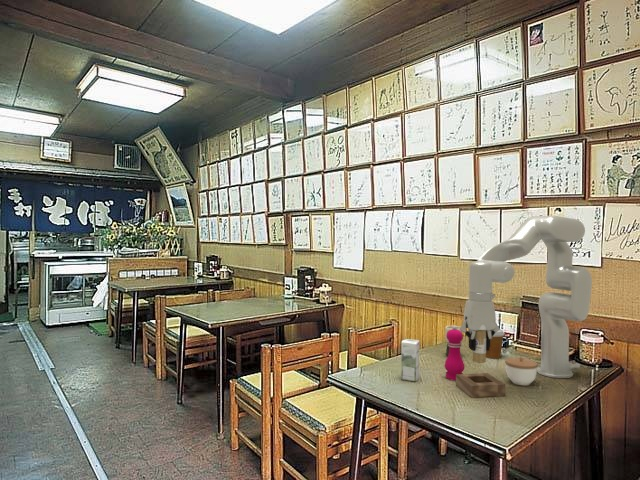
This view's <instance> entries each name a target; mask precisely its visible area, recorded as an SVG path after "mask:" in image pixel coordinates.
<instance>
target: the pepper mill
mask: <svg viewBox="0 0 640 480" xmlns="http://www.w3.org/2000/svg"><path fill="white" fill-rule="evenodd" d="M452 326H453V327H452V329H451V330H449V331H448V332H447V335H446V337H447V339H448V341H449V342H447V344H448V346H449V355H447V357H446V359H445V362H444V368H445V370H446V372H445V377H446V379H448V380H451V381H456V374H464V373H463V372H464V370H465V362H464V360H463V357H462V355H460V354H461V348H462V341H463V339H464V335H463V334H464V333H463V332H461V331H459V330H457V326H458V325H455V324H454V325H452Z"/></svg>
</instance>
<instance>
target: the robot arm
mask: <svg viewBox="0 0 640 480" xmlns="http://www.w3.org/2000/svg"><path fill="white" fill-rule="evenodd" d="M585 229H586V228H585V225H584V224H583V222H582V221H580V220H579V219H576V218H570V217H564V216H561V215H560V216H558V215H537V216H536V215H535V216H531V217H530V216H529V218H527V219H526V220H525V221H524V222H522V224H521V225H520V226H519V227H518V228H517V229H516V230H515V232H514V233H513V234H511V236H510V237H509V238H508V239H506V240H504V241H501V242H500V243H497V244H496V245H494V246H492V247H490V248H489V249H487V250H486V251H484V253H482V254H481V255H480V257H479V258H478V259H477V260H476V261H473V262H470V263H469V268H468V269H469V270H468V271H469V272H468V273H469V274H468V275H469V276H468V278H469V279H468V280H469V281H468V300H466V301H465V305H464V311H463V319H462V321H463V322H462V324H461V325H460V326H459V327H460V330H461V331H462V333H463V334H464V335H466V337H467V338H468V348H469V350H470V351H472V352H473V351H475V350H476V340H475V339H474V337H475V332H476V331H478V330H479V329H480V327H481V326H482V325H484V326H485V328H486V350H487V351H489V348H490V339H492V336H493V335H494V334H495V333H496V332H497V331H499V330H500V329H501V328H500V327H499V325H498V324H497V321H496V320H497V319H496V309H495V304H494V303H495V302H494V301H493V299H495V298H496V294H494V293H493V283H501V284H503V283H508V282H510V281H511V280H512V279H513V278H514V277H515V276H514V275H515V269H514V267H513V265H512V264H511V263H509V262H507V261H511V260H515V259H520V258H523V257H526V256H528V254H530V253H531V251H532V250H533V249H534V248H535V247H536V246H537V244H538V243H539V242H540V241H542V242H543V243H544V245H545V247H546V250H547V261H546V262H547V264H546V273H545V283H546V285H547V286H548V287H549V288H551V289H554V290H561V291H568V292H570V294H567V293H561V292H553V291H551V292H545V293H542V295H541V296H539V299H538V310H539V314H540V325H541V326H540V327H541V328H540V329H541V330H540V331H541V332H540V334H541V336H540V337H541V339H540V365H539V366H537V373H538V374H539V375H542V376H544V377H547V378H548V377H550V378H553V379H570V378H572V377H573V376H574V372H573V370H580V369H581V365H580V364H579V363H572V362H569V359H570V358H569V357H570V355H569V354H570V353H569V351H570V347H569V344H570V342H569V341H570V340H569V339H570V331H569V325H568V323H567V321H566V320H568V321H571V322H572V321H573V322H582V321H585V320H586V319H587V317H588V316H589V312H590V307H591V297H592V296H591V295H592V288H593V278H592V277H593V276H592V275H591V272H590V271H589V270H588V269H587V268H586V267H584V266H579V265H578V266H576V265H575V266H574V265H573V257H574V256H573V255H574V253H573V250H572V248H571V247H570V245H569V243H576V242H579V241H581V240H582V239H583V238H584V236H585V234H586V233H585V232H586V230H585ZM467 329H468V330H467Z"/></svg>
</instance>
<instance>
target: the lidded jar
mask: <svg viewBox="0 0 640 480" xmlns="http://www.w3.org/2000/svg"><path fill="white" fill-rule="evenodd" d="M504 362H505V371H506V375H507V377H508V379H509V380H510V381H511V382H512V383H513V384H515V385H517V386H530V385H531V383H532V382H534V380H535V379H536V377H537V373H538V372H537V367H538V363H537V362H536V361H534V360H532V359H529V358H523V356H519V357H509V358H506V359H505V361H504Z"/></svg>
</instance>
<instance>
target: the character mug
mask: <svg viewBox="0 0 640 480" xmlns="http://www.w3.org/2000/svg"><path fill="white" fill-rule="evenodd" d="M453 326H454V325H446V326H445V328H444V340H445V342H447V344H446V351H445V355H446V356H448V355H449V346H448V342H449V341H448V339H447V337H446V335H447V332H448V331H449V330H451V329H452V327H453ZM456 326H457V330H459V331H461V330H460V327H461V326H460V325H459V326H458V325H456ZM461 332H462V331H461ZM462 333H463V332H462ZM460 355H461V353H460ZM461 356H462V355H461Z"/></svg>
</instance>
